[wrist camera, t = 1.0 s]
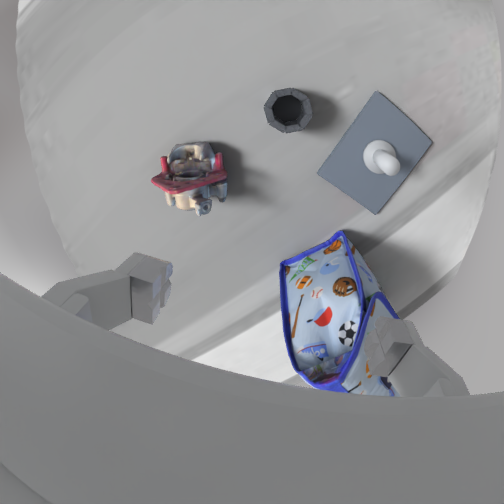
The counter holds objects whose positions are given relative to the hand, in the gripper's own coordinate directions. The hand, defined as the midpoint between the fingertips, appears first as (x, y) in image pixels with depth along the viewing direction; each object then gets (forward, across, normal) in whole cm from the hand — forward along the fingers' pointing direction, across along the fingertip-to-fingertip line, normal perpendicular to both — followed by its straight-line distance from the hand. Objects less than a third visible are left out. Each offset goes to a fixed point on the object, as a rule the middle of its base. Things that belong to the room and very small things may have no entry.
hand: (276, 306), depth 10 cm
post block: (+33, -13, -7) cm, 36 cm away
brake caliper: (+33, +13, +2) cm, 36 cm away
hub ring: (+32, +2, -10) cm, 33 cm away
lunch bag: (+38, -16, +18) cm, 45 cm away
